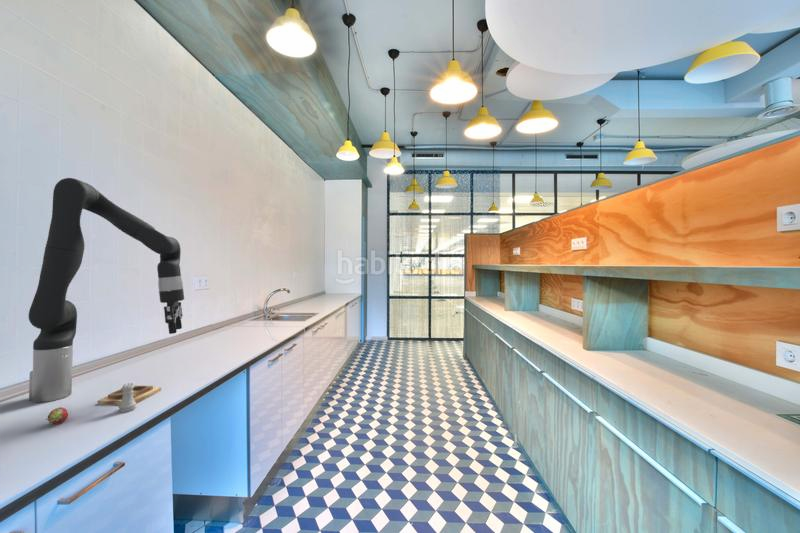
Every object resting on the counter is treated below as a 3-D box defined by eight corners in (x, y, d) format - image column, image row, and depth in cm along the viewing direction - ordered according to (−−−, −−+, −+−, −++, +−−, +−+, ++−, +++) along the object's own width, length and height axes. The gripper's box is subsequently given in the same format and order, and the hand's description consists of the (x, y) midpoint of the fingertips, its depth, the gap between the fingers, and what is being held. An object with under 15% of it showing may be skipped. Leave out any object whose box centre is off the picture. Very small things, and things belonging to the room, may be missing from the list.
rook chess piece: (121, 407, 103) (121, 383, 103) (138, 405, 104) (139, 381, 104) (115, 413, 98) (116, 387, 98) (133, 411, 100) (134, 386, 100)
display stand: (97, 404, 105) (97, 396, 105) (128, 390, 117) (128, 383, 117) (134, 404, 105) (134, 397, 105) (161, 390, 117) (161, 384, 117)
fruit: (73, 417, 96) (73, 400, 96) (63, 426, 91) (64, 408, 91) (53, 420, 94) (54, 403, 94) (42, 429, 89) (43, 411, 89)
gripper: (164, 288, 126) (169, 329, 127) (153, 291, 113) (158, 336, 114) (186, 286, 129) (191, 326, 130) (178, 289, 116) (183, 333, 117)
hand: (175, 331), depth 122 cm, fingers open, 8 cm apart
